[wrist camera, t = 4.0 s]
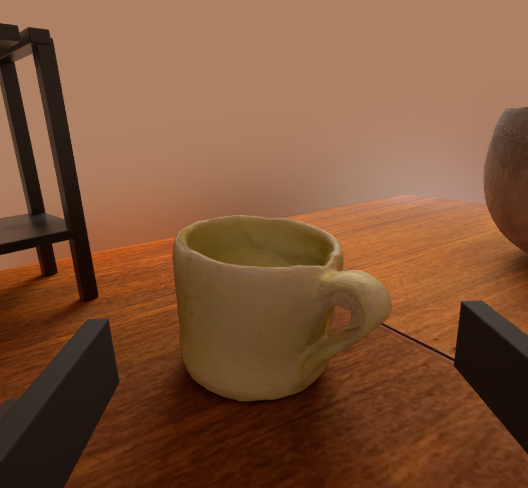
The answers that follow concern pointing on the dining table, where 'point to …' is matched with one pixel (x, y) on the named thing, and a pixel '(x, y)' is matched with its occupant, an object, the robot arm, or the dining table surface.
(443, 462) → the dining table surface
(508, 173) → the bowl
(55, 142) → the rack
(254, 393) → the mug
